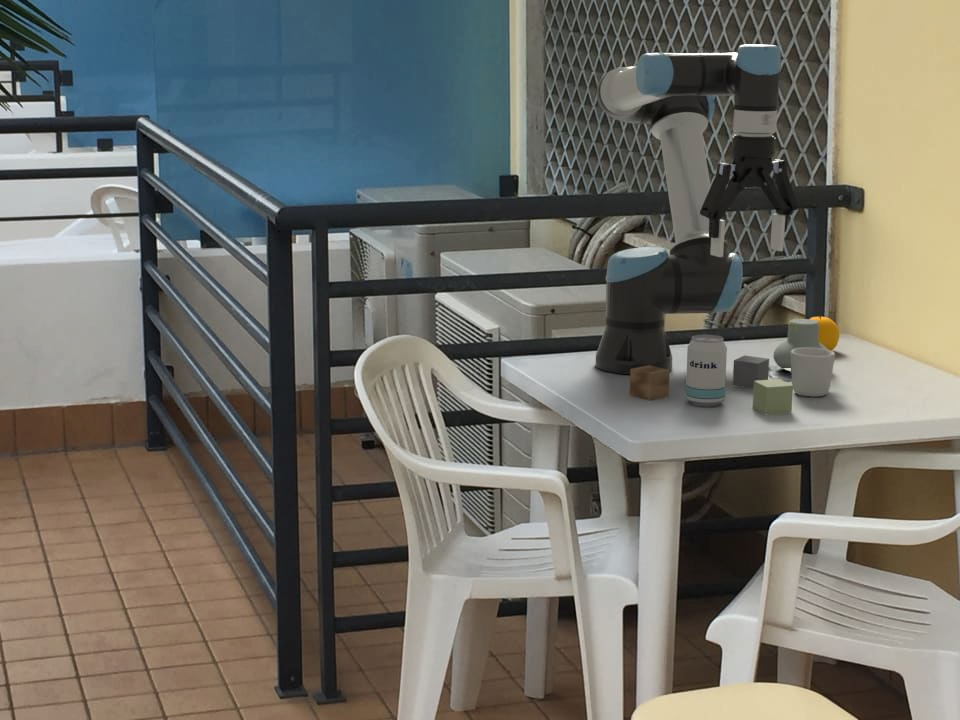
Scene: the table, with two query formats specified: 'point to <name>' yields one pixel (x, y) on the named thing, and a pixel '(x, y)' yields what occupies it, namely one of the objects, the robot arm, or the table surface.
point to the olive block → (772, 396)
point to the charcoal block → (749, 371)
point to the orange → (827, 332)
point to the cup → (811, 370)
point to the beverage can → (706, 370)
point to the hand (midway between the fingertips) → (746, 253)
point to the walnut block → (649, 382)
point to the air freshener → (797, 340)
